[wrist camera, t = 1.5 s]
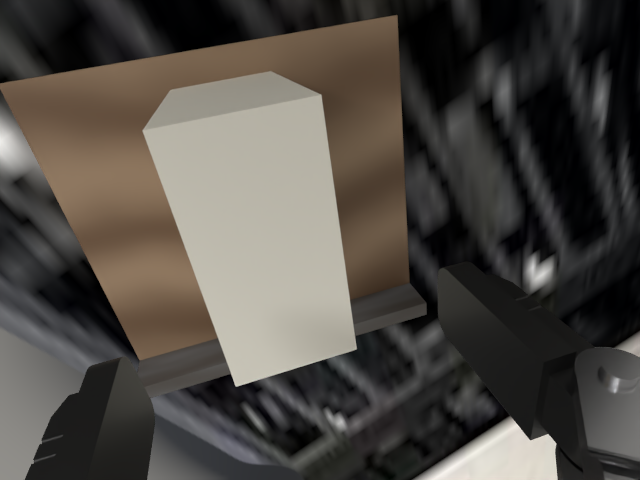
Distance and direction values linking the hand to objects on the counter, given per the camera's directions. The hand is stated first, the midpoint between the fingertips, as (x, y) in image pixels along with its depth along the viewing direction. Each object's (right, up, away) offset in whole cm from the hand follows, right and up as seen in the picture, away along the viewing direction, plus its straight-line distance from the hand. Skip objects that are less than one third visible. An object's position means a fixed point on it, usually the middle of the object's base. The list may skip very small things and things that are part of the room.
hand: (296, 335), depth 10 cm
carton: (-4, +6, +12) cm, 14 cm away
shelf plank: (-4, +5, +14) cm, 15 cm away
